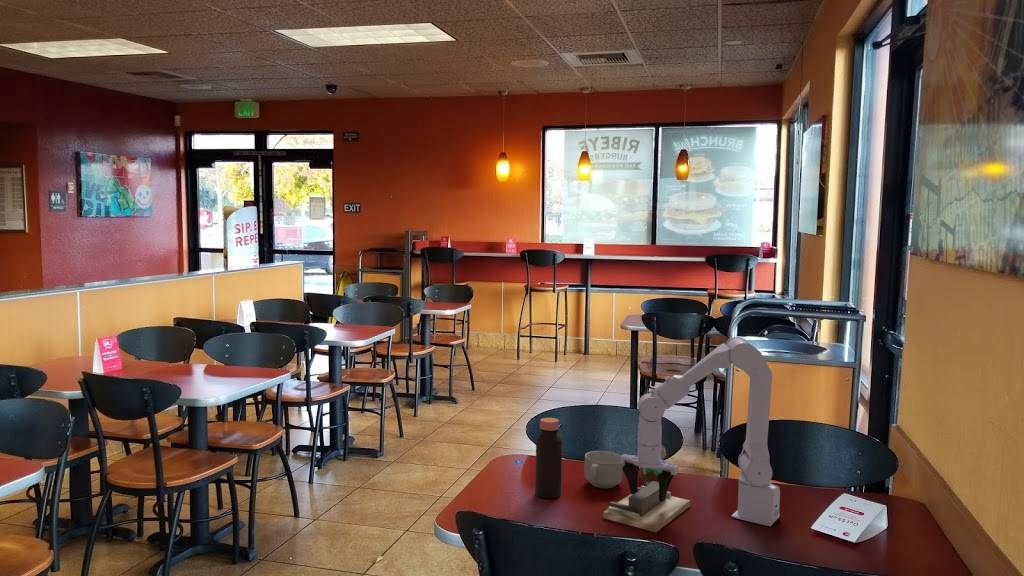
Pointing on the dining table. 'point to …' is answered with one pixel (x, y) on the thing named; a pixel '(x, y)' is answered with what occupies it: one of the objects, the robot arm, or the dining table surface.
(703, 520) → the dining table surface
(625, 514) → the display stand
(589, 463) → the teacup
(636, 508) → the grey boxy piece
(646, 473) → the food container
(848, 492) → the dining table surface
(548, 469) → the bottle
